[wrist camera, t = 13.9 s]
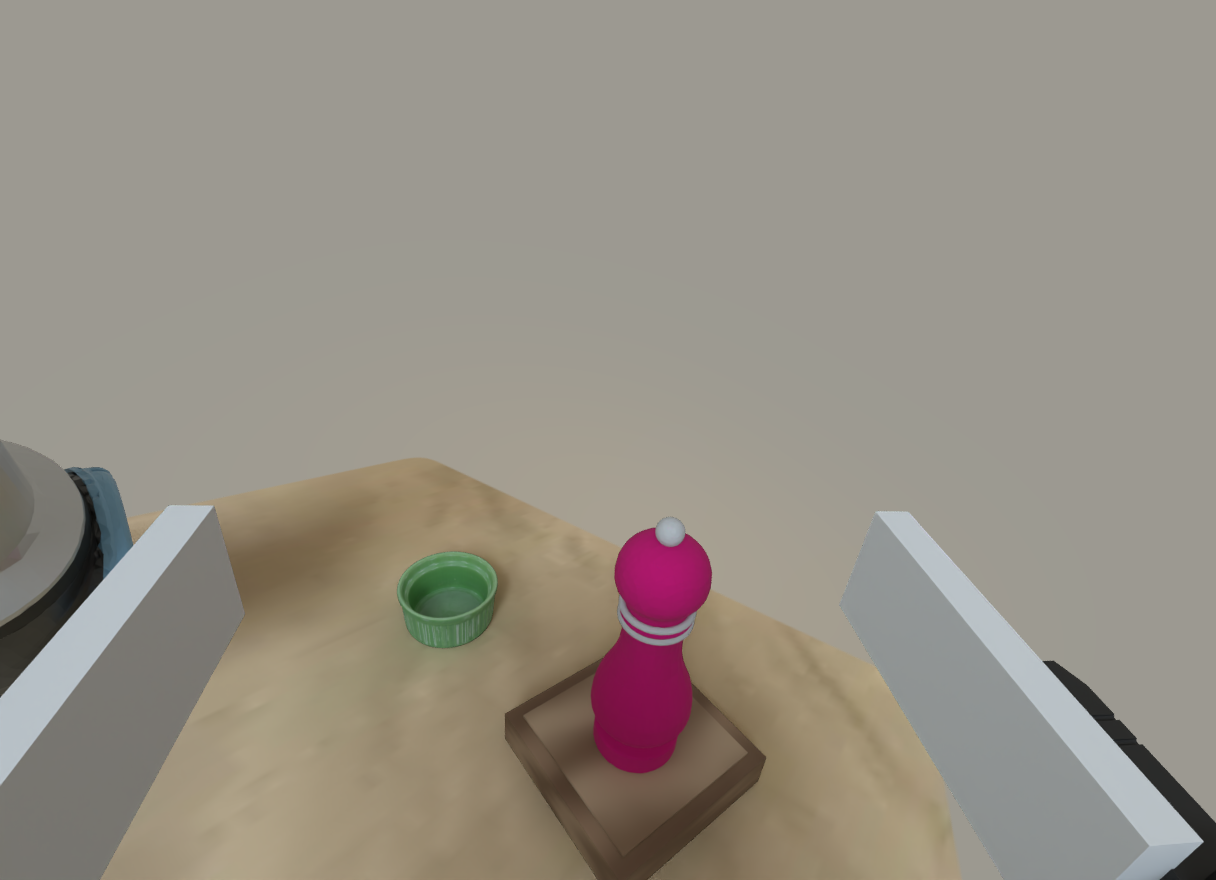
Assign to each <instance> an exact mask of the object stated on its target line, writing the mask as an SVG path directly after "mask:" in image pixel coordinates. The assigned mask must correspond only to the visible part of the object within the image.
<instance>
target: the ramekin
mask: <svg viewBox="0 0 1216 880" xmlns="http://www.w3.org/2000/svg"><path fill="white" fill-rule="evenodd" d="M497 585H498V580H497V575H496V572H495V570H494V569H493V567H492V566H491V565H490V564H489V563H488V562H487V561H485V560H484V559H482V558H481V557H478V556H476V555H473V554H470V553H464V552H443V553H437V554H434V555H430V556H428V557H425V558H423V559H421V560H419V561H417V562H416V563H414V564H413V565H411V566H410V567H409V568H408V569H407V570H406V571H405V572H404V573H403V575H402V576H401V578H400V580H399V583H398V587H397V596H398V600H399V602H400V605H401V606H402V609H403V613H404V618H405V622H406V625H407V629H408V630H409V632H410V634H411V635H412V636H413V637H414V638H415V639H416V640H418V641H419V642H421V643H423V644H425V645H428V646H431V647H437V648H450V647H456V646H460V645H463V644H466V643H468V642H470V641H472V640H474V639H475V638H477V637H478V636H479V635H481V634H482V633H483V632H484V630H485V629H486V628H487V626H488V625H489V623H490V621H491V618H492V614H493V607H494V597H495V594H496V590H497Z"/></svg>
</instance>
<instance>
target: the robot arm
mask: <svg viewBox="0 0 1216 880" xmlns="http://www.w3.org/2000/svg"><path fill="white" fill-rule="evenodd" d="M840 607H841V609H842V610H843V612H844V614H845V615H846V617H847V619H848V620H849V622H850V624H851V625H852V627H853V629H854V630H855V632H856V634H857V635H858V637H859V639H860V640H861V642H862V644H863V646H864V647H865V649H866V651H867V652H868V654H869V656H870V657H871V659H872V661H873V662H874V664H875V666H876V667H877V669H878V671H879V672H880V674H881V676H882V677H883V679H884V681H885V682H886V684H887V686H888V687H889V689H890V691H891V692H892V694H893V696H894V697H895V699H896V701H897V702H898V704H899V706H900V707H901V709H902V711H903V712H904V714H905V716H906V717H907V719H908V721H909V722H910V724H911V726H912V727H913V729H914V731H915V732H916V734H917V736H918V737H919V739H920V741H921V742H922V744H923V746H924V747H925V749H926V751H927V752H928V754H929V756H930V757H931V759H932V761H933V762H934V764H935V766H936V767H937V769H938V771H939V772H940V774H941V776H942V777H943V779H944V781H945V782H946V784H947V786H948V787H949V789H950V791H951V792H952V794H953V796H954V797H955V799H956V801H957V802H958V804H959V806H960V807H961V809H962V811H963V812H964V814H965V816H966V817H967V819H968V821H969V822H970V824H971V826H972V827H973V829H974V831H975V832H976V834H977V836H978V837H979V839H980V841H981V842H982V844H983V846H984V847H985V849H986V851H987V852H988V854H989V856H990V857H991V859H992V861H993V862H994V864H995V866H996V867H997V869H998V871H999V872H1000V874H1001V876H1002V878H1003V879H1004V880H1216V823H1215V822H1214V821H1213V819H1212V818H1210V816H1209V815H1208V814H1207V813H1206V812H1205V811H1204V810H1203V809H1202V808H1201V807H1200V805H1199V804H1198V803H1197V802H1196V801H1195V800H1194V799H1193V798H1192V797H1191V796H1190V795H1189V794H1188V793H1187V792H1186V790H1185V789H1184V788H1183V787H1182V786H1181V785H1180V784H1179V783H1178V782H1177V781H1176V780H1175V779H1174V778H1173V777H1172V776H1171V775H1170V773H1169V772H1168V771H1167V770H1166V769H1165V768H1164V767H1163V766H1162V765H1161V764H1160V763H1159V762H1158V761H1157V759H1156V758H1155V757H1154V756H1153V755H1152V754H1151V753H1150V752H1149V751H1148V750H1147V749H1146V748H1145V747H1144V746H1143V745H1139V744H1138V743H1137V741H1136V739H1137V738H1136V737H1135V736H1134V735H1133V734H1132V733H1131V732H1130V731H1129V730H1128V728H1127V727H1126V726H1125V725H1124V724H1123V723H1122V722H1121V721H1120V720H1116V719H1115V718H1114V713H1113V712H1112V711H1111V710H1110V709H1109V708H1108V707H1107V706H1106V705H1105V704H1104V703H1103V702H1102V701H1101V700H1100V699H1099V697H1098V696H1097V695H1096V694H1095V693H1094V692H1093V691H1092V690H1091V689H1090V688H1089V687H1088V686H1087V685H1086V684H1085V683H1083V682H1082V681H1080V680H1079V679H1078V678H1076V677H1075V676H1074V675H1072V674H1071V673H1069V672H1068V671H1067V670H1066V669H1064V668H1063V667H1061V666H1060V665H1059V664H1057V663H1056V662H1054V661H1042V660H1041V659H1040V658H1039V657H1038V656H1037V655H1036V654H1035V653H1034V652H1033V650H1031V648H1030V647H1029V646H1028V645H1027V644H1026V643H1025V641H1024V640H1023V639H1022V638H1021V637H1020V636H1019V635H1018V634H1017V633H1016V631H1015V630H1014V629H1013V628H1012V627H1011V626H1010V625H1009V624H1008V623H1007V621H1006V620H1005V619H1004V618H1003V617H1002V616H1001V615H1000V614H999V612H998V611H997V610H996V609H995V608H994V607H993V606H992V605H991V604H990V602H989V601H988V600H987V599H986V598H985V597H984V596H983V595H982V593H980V591H979V590H978V589H977V588H976V587H975V586H974V585H973V583H972V582H971V581H970V580H969V579H968V578H967V577H966V576H965V575H964V573H963V572H962V571H961V570H960V569H959V568H958V567H957V566H956V564H955V563H954V562H953V561H952V560H951V559H950V558H949V557H948V556H947V554H946V553H945V552H944V551H943V550H942V549H941V548H940V547H939V546H938V544H937V543H936V542H935V541H934V540H933V539H932V538H931V537H930V536H929V534H928V533H927V532H926V531H925V530H924V529H923V528H922V527H921V525H920V524H919V523H918V522H917V521H916V520H915V519H914V518H913V517H912V515H911V514H910V513H909V512H875V514H874V517H873V519H872V522H871V525H870V527H869V530H868V532H867V535H866V537H865V540H864V543H863V545H862V548H861V550H860V553H859V556H858V558H857V561H856V563H855V566H854V568H853V571H852V573H851V576H850V579H849V581H848V584H847V586H846V589H845V592H844V594H843V597H842V599H841V602H840ZM244 615H245V612H244V608H243V605H242V601H241V598H240V594H239V591H238V587H237V584H236V580H235V577H234V573H233V570H232V566H231V563H230V559H229V556H228V552H227V549H226V545H225V542H224V538H223V535H222V531H221V528H220V524H219V521H218V517H217V514H216V510H215V507H214V506H192V505H168V507H167V508H166V509H165V510H164V511H163V512H162V513H161V514H160V516H159V517H158V518H157V519H156V520H155V521H154V523H153V524H152V525H151V526H150V527H149V528H148V529H147V531H146V532H145V533H144V534H143V535H142V536H141V537H140V539H139V540H138V541H137V542H136V543H135V544H134V545H133V542H132V538H131V533H130V530H129V526H128V522H127V518H126V514H125V510H124V507H123V503H122V500H121V497H120V493H119V490H118V487H117V485H116V482H115V480H114V479H113V478H112V475H111V474H110V472H109V471H107V470H105V469H103V468H99V467H91V468H84V469H82V468H76V467H72V468H68V469H65V470H64V469H62V468H61V467H60V466H59V465H58V464H57V463H55V462H54V461H53V460H51V459H49V458H48V457H46V456H44V455H42V454H40V453H38V452H36V451H34V450H32V449H30V448H27V447H24V446H21V445H18V444H15V443H12V442H7V441H3V440H0V880H100V879H101V877H102V875H103V873H104V871H105V869H106V868H107V866H108V864H109V862H110V860H111V858H112V857H113V855H114V853H115V851H116V849H117V847H118V846H119V844H120V842H121V840H122V838H123V836H124V835H125V833H126V831H127V829H128V827H129V826H130V824H131V822H132V820H133V818H134V816H135V815H136V813H137V811H138V809H139V807H140V805H141V804H142V802H143V800H144V798H145V796H146V794H147V793H148V791H149V789H150V787H151V785H152V783H153V782H154V780H155V778H156V776H157V774H158V772H159V771H160V769H161V767H162V765H163V763H164V761H165V760H166V758H167V756H168V754H169V752H170V750H171V749H172V747H173V745H174V743H175V741H176V739H177V738H178V736H179V734H180V732H181V730H182V729H183V727H184V725H185V723H186V721H187V719H188V718H189V716H190V714H191V712H192V710H193V708H194V707H195V705H196V703H197V701H198V699H199V697H200V696H201V694H202V692H203V690H204V688H205V686H206V685H207V683H208V681H209V679H210V677H211V675H212V674H213V672H214V670H215V668H216V666H217V664H218V663H219V661H220V659H221V657H222V655H223V653H224V652H225V650H226V648H227V646H228V644H229V642H230V641H231V639H232V637H233V635H234V633H235V632H236V630H237V628H238V626H239V624H240V622H241V621H242V619H243V617H244Z"/></svg>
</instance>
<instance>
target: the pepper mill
mask: <svg viewBox="0 0 1216 880" xmlns="http://www.w3.org/2000/svg"><path fill="white" fill-rule="evenodd" d="M614 578H615V583H616V587H617V589H618V592H619V594H620V595H619V604H618V609H617V615H618V619H619V622H620V624H621V626H622V630H621V633H620V637H619V639H618V640H617V642H616V644H615V645H614V646H613V647H612V648H611V650H610V651H609V652H608V653H607V654H606V655H605V656H604V658H603V659H602V661H601V663H600V664H599V666H598V668H597V670H596V673H595V676H594V679H593V683H592V688H591V704H592V709H593V712H594V714H595V719H594V727H593V735H594V740H595V743H596V745H597V748H598V750H599V751H600V753H601V754H602V756H603V757H604V758H605V759H606V760H607V761H608V762H609V763H611V764H612V765H613V766H615V767H616V768H618V769H620V770H623V771H626V772H630V773H647V772H650V771H654V770H656V769H658V768H660V767H661V766H663V765H664V764H665V763H666V762H667V761H668V760H669V759H670V757H671V756H672V754H673V752H674V750H675V746H676V742H677V738H678V735H679V734H680V733H681V732H682V731H683V729H684V728H685V726H686V725H687V722H688V720H689V717H690V714H691V708H692V686H691V680H690V676H689V673H688V671H687V668H686V666H685V663H684V661H683V656H682V644H683V640H684V639H685V638H686V637H687V636H688V635H689V634H690V633H691V631H692V629H693V626H694V619H695V617H696V613H697V610H698V609H699V608H700V607H701V606H702V605H703V604H704V602H705V601H706V599H707V597H708V594H709V591H710V588H711V578H712V570H711V566H710V561H709V559H708V556H707V554H706V552H705V551H704V549H703V548H702V546H701V545H700V544H699V543H698V542H697V541H696V540H695V539H693V538H692V537H691V536H690V535H688V534H686V533H685V527H684V525H683V523H682V522H681V521H680V520H679V519H677V518H674V517H666V518H663V519H662V520H661V521H660V522H659V523H658V524H657V526H656V528H650V529H647V530H644V531H641V532H639V533H637V534H635V535H634V536H633V537H631V538H630V539H629V540H628V541H627V542H626V543H625V545H624V546H623V547H622V549H621V551H620V552H619V555H618V558H617V561H616V565H615V576H614Z"/></svg>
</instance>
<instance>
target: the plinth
mask: <svg viewBox="0 0 1216 880" xmlns="http://www.w3.org/2000/svg"><path fill="white" fill-rule="evenodd" d="M602 659H603V658H602ZM602 659H600V660H598V661H597V662H595V663H593V664H591V665H590V666H588V667H586V668H584V669H583V670H581V671H579V672H577V673H576V674H574V675H572V676H570V677H569V678H567V679H565V680H563V681H562V682H560V683H558V684H556V685H555V686H553V687H551V688H549V689H548V690H546V691H544V692H542V693H541V694H539V695H537V696H535V697H534V698H532V699H530V700H528V701H527V702H525V703H523V704H521V705H520V706H518V707H516V708H514V709H513V710H511V711H509V712H507V713H506V714H505V739H506V741H507V742H508V744H509V745H510V747H511V748H512V750H513V751H514V753H515V754H516V756H517V757H518V759H519V760H520V762H521V763H522V765H523V766H524V768H525V769H526V771H527V772H528V774H529V775H530V777H531V779H532V780H533V782H534V783H535V785H536V786H537V788H538V789H539V791H540V792H541V794H542V795H543V797H544V798H545V800H546V801H547V803H548V804H549V806H550V807H551V809H552V810H553V812H554V813H555V815H556V817H557V818H558V820H559V821H560V823H561V824H562V826H563V827H564V829H565V830H566V832H567V833H568V835H569V836H570V838H571V839H572V841H573V842H574V844H575V845H576V847H577V848H578V850H579V851H580V853H581V855H582V856H583V858H584V859H585V861H586V862H587V864H588V865H589V867H590V868H591V870H592V871H593V873H594V874H595V876H596V877H597V879H598V880H647V879H648V878H649V877H651V876H652V875H653V874H654V873H655V872H656V871H657V870H658V869H660V868H661V867H662V866H663V865H664V864H665V863H666V862H667V861H669V860H670V859H671V858H672V857H673V856H674V855H675V854H676V853H678V852H679V851H680V850H681V849H682V848H683V847H684V846H685V845H687V844H688V843H689V842H690V841H691V840H692V839H693V838H694V837H696V836H697V835H698V834H699V833H700V832H701V831H702V830H703V829H705V828H706V827H707V826H708V825H709V824H710V823H711V822H712V821H714V820H715V819H716V818H717V817H718V816H719V815H720V814H721V813H723V812H724V811H725V810H726V809H727V808H728V807H729V806H730V805H732V804H733V803H734V802H735V801H736V800H737V799H738V798H739V797H741V796H742V795H743V794H744V793H745V792H746V791H747V790H749V789H750V788H751V787H752V786H753V785H754V784H755V783H756V782H758V779H759V777H760V774H761V771H762V768H763V765H764V763H765V760H766V757H765V756H764V755H763V754H762V753H761V752H760V751H759V750H758V749H757V748H756V747H755V746H754V745H753V744H752V743H751V742H750V741H749V740H748V739H747V738H746V737H745V736H744V735H743V734H742V733H741V732H740V731H739V730H738V729H737V728H736V727H735V726H734V725H733V724H732V723H731V722H730V721H729V720H728V719H727V718H726V717H725V716H724V715H723V714H722V713H721V712H720V711H719V710H718V709H717V708H716V707H715V706H714V705H713V704H712V703H711V702H710V701H709V700H708V699H707V698H706V697H705V696H704V695H703V694H702V693H701V692H700V691H699V690H698V689H697V688H696V687H695V686H694V685H693V684H692V683H691V686H692V708H691V714H690V717H689V720H688V722H687V725H686V726H685V728H684V729H683V731H682V732H681V733H680V734H679V735H678V738H677V742H676V746H675V750H674V752H673V754H672V756H671V757H670V759H669V760H668V761H667V762H666V763H665V764H664V765H663V766H661V767H660V768H658V769H656V770H654V771H650V772H647V773H630V772H626V771H623V770H620V769H618V768H616V767H615V766H613V765H612V764H611V763H609V762H608V761H607V760H606V759H605V758H604V757H603V756H602V754H601V753H600V751H599V750H598V748H597V745H596V743H595V740H594V735H593V727H594V719H595V714H594V712H593V709H592V704H591V688H592V683H593V679H594V676H595V673H596V670H597V668H598V666H599V664H600V663H601V661H602Z"/></svg>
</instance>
